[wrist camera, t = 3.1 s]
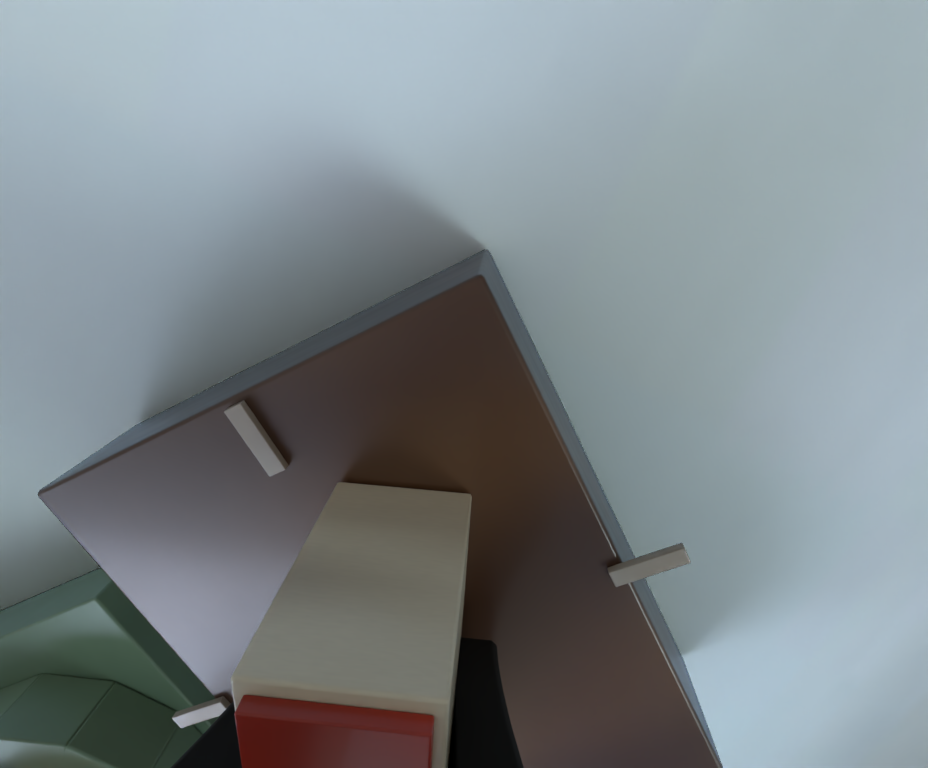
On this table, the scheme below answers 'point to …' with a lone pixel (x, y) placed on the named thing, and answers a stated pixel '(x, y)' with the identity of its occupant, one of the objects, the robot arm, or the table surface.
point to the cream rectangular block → (361, 638)
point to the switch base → (406, 466)
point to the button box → (91, 683)
